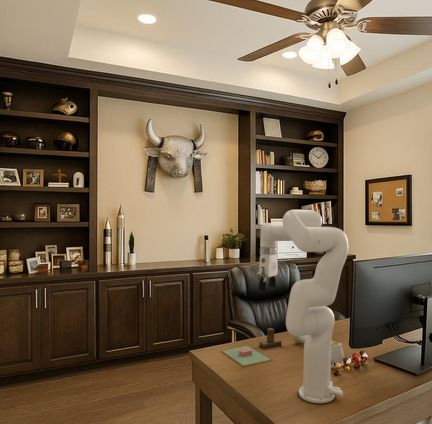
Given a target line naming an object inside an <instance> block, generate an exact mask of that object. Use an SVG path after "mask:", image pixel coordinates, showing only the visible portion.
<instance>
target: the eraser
mask: <svg viewBox="0 0 432 424" xmlns="http://www.w3.org/2000/svg"><path fill="white" fill-rule="evenodd" d="M239 355H240V356H242V357H245V356H250V355H252V350H250V349H244V350H239Z"/></svg>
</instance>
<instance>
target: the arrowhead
mask: <svg viewBox="0 0 432 424" xmlns="http://www.w3.org/2000/svg"><path fill="white" fill-rule="evenodd" d="M338 343H339V344H336V345H335V346H334V348H333V351H332V354H331V369H334V368H335V366H334V363H338V362H339V363H342V362H343V360H344V358H345V359H346V356H345V354H344V350H343V343H342V342H338ZM343 366H344V367H345V363H344V364H343V365H342V366H341V367H343ZM335 369H336V368H335Z"/></svg>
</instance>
